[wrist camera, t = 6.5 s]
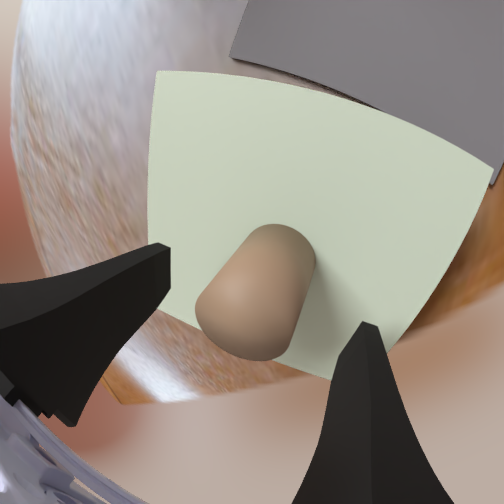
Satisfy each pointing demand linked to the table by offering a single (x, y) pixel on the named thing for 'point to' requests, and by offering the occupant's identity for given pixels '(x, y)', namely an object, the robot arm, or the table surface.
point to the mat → (394, 59)
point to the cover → (299, 215)
